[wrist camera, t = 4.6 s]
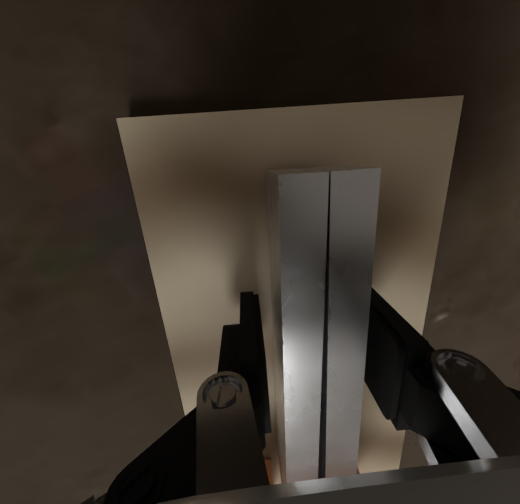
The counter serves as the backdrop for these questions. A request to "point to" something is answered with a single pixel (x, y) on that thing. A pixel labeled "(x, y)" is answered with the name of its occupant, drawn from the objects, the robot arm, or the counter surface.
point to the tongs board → (256, 222)
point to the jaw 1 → (297, 312)
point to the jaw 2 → (346, 312)
